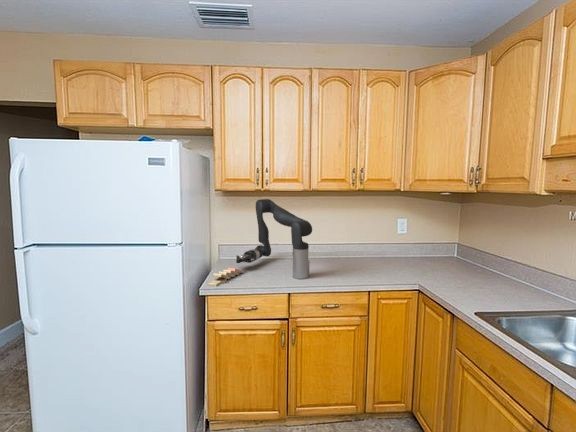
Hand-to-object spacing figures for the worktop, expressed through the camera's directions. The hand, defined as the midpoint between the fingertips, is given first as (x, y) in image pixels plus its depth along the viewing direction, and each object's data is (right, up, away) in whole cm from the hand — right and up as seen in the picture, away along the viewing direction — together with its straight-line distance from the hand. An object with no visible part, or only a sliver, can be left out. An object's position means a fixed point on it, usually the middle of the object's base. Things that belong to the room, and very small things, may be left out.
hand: (237, 261), depth 200 cm
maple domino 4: (-1, -7, -1) cm, 7 cm away
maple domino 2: (-6, -8, -14) cm, 17 cm away
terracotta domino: (+1, -7, +3) cm, 7 cm away
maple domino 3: (-3, -7, -6) cm, 10 cm away
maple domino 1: (-5, -8, -10) cm, 14 cm away
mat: (-2, -9, -4) cm, 10 cm away
